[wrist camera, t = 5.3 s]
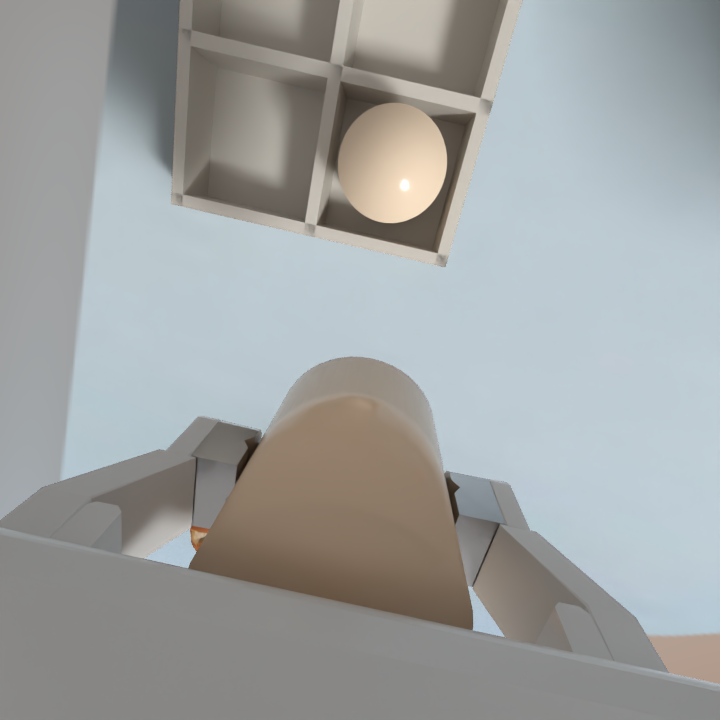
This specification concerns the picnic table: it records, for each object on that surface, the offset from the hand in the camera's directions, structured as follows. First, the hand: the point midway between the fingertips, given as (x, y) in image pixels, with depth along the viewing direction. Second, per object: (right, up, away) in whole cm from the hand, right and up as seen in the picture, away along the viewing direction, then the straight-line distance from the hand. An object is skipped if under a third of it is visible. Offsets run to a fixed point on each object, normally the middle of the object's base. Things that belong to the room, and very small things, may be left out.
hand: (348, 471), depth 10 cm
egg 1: (0, +1, +2) cm, 2 cm away
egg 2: (+2, +13, +13) cm, 18 cm away
